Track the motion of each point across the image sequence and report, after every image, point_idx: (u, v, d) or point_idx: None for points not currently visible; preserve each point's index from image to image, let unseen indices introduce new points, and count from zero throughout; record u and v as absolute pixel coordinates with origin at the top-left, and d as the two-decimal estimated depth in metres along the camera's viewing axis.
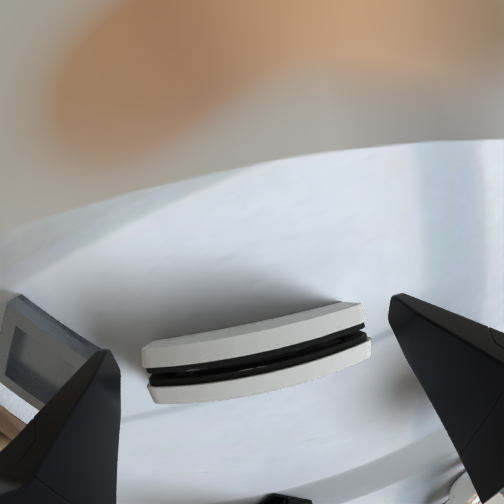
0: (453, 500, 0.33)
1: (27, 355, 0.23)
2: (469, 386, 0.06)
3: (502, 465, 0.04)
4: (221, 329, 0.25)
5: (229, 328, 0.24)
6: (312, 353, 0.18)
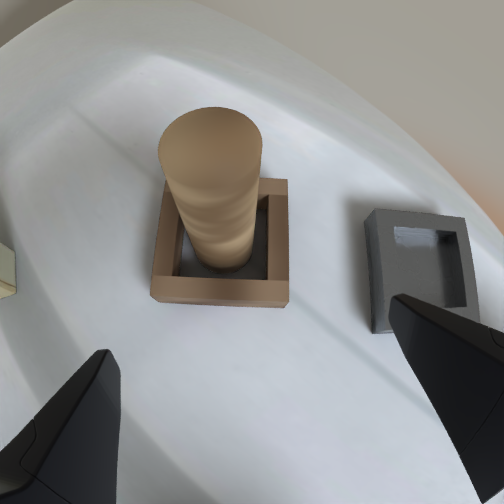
0: None
1: (414, 251, 0.24)
2: (469, 386, 0.06)
3: (502, 465, 0.04)
4: None
5: None
6: None
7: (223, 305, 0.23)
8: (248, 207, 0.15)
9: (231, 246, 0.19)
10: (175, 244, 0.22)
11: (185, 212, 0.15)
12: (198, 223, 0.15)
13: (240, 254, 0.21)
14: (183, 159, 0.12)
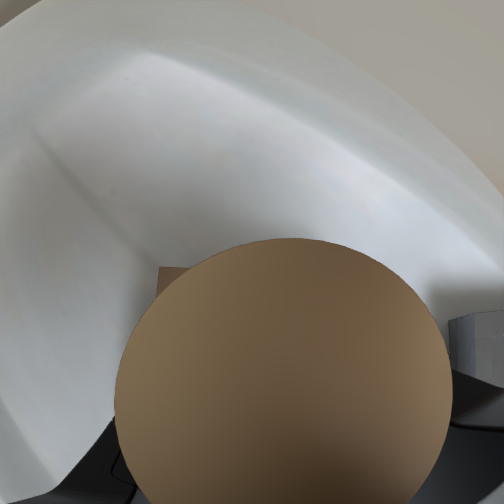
0: None
1: (502, 356, 0.14)
2: None
3: None
4: None
5: None
6: None
7: None
8: None
9: None
10: None
11: None
12: None
13: None
14: (209, 477, 0.03)
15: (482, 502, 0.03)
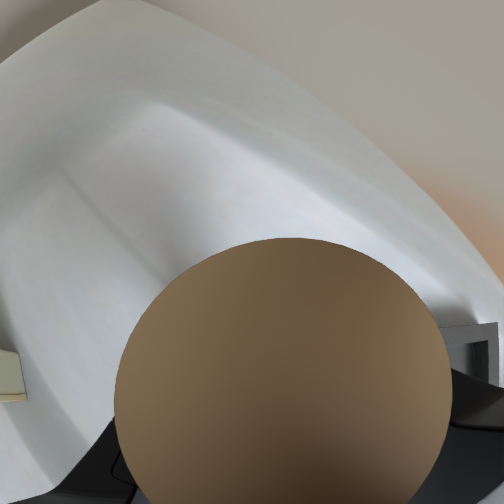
0: None
1: None
2: None
3: None
4: None
5: None
6: None
7: None
8: None
9: None
10: None
11: None
12: None
13: None
14: (209, 476, 0.03)
15: (482, 502, 0.03)
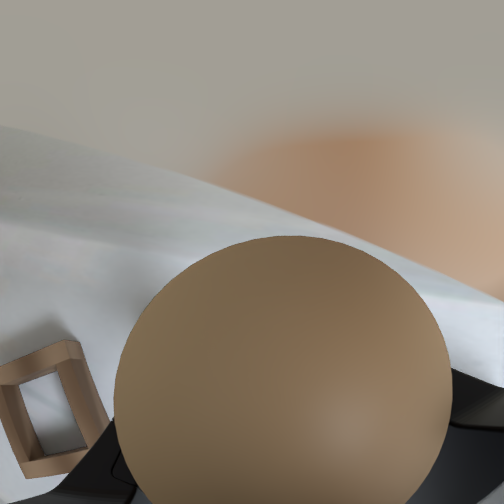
0: None
1: None
2: None
3: None
4: None
5: None
6: None
7: None
8: None
9: None
10: (18, 433, 0.16)
11: None
12: None
13: None
14: (208, 475, 0.03)
15: (482, 502, 0.03)
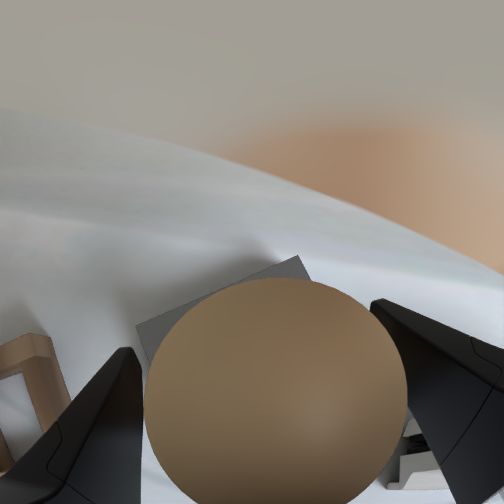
0: None
1: None
2: (447, 397, 0.06)
3: (482, 480, 0.04)
4: None
5: None
6: None
7: None
8: None
9: None
10: None
11: None
12: None
13: None
14: (216, 458, 0.04)
15: None
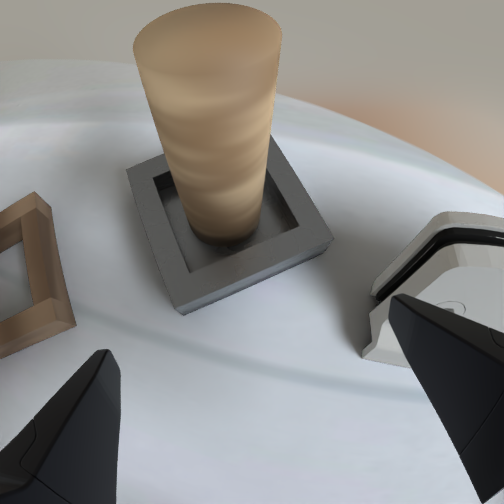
0: None
1: None
2: (469, 386, 0.06)
3: (502, 465, 0.04)
4: None
5: None
6: None
7: (27, 346, 0.17)
8: (259, 131, 0.10)
9: (233, 199, 0.13)
10: None
11: (169, 137, 0.10)
12: (187, 154, 0.10)
13: (245, 216, 0.16)
14: (167, 47, 0.07)
15: None
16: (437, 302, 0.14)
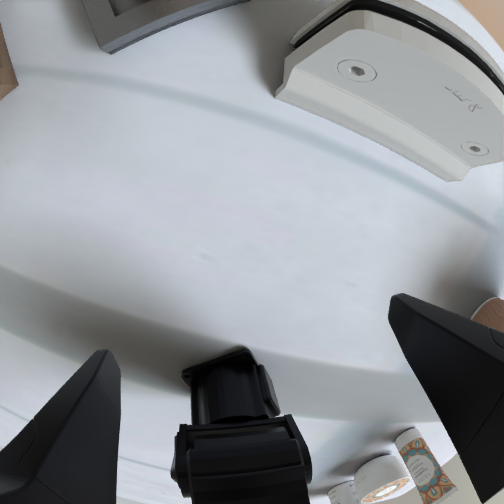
0: (360, 481, 0.39)
1: None
2: (469, 386, 0.06)
3: (502, 465, 0.04)
4: None
5: None
6: None
7: None
8: None
9: None
10: None
11: None
12: None
13: None
14: None
15: None
16: (345, 58, 0.13)
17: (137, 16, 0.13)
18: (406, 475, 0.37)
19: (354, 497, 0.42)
